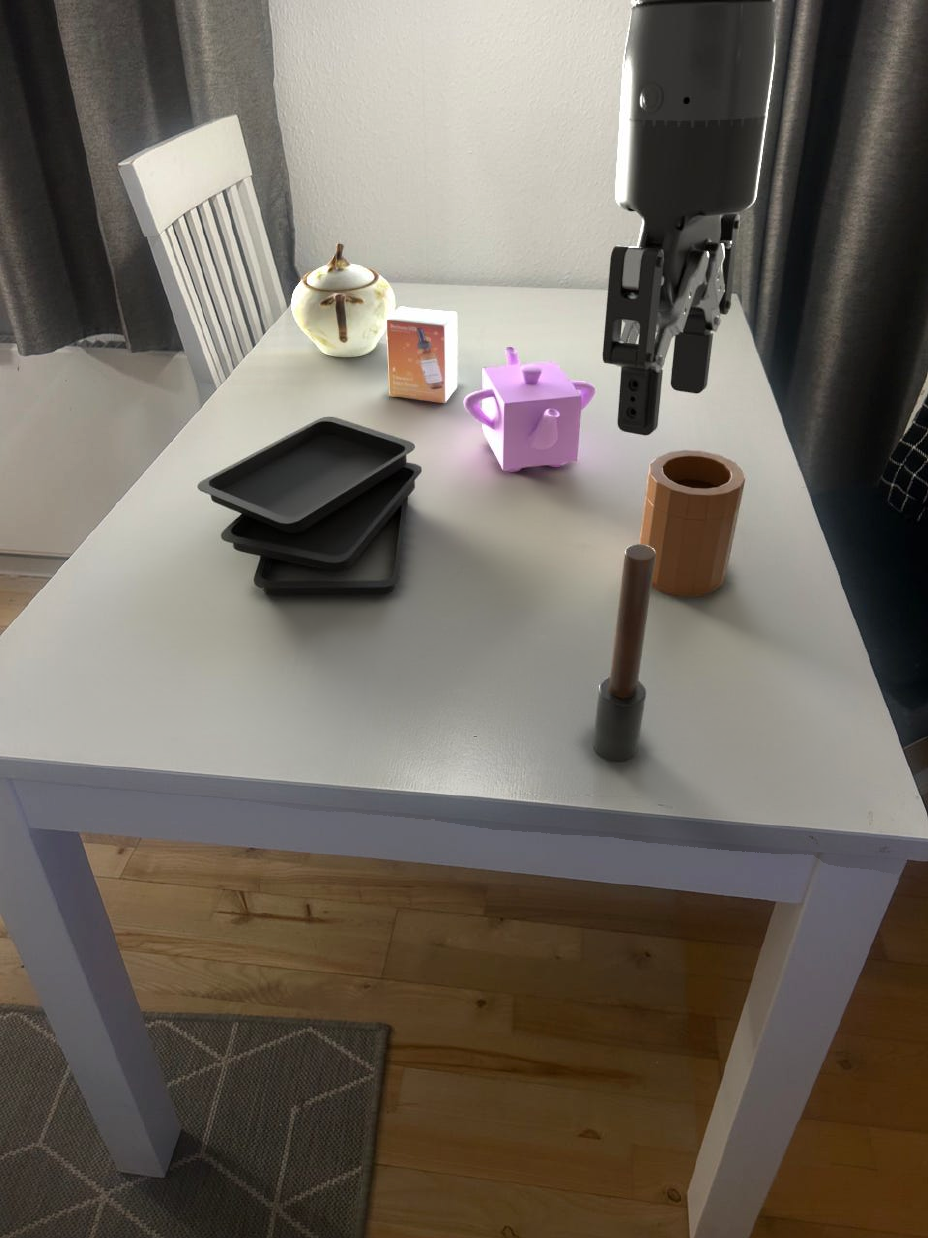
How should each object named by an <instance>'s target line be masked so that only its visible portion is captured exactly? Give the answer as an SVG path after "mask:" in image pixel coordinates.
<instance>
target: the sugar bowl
mask: <svg viewBox="0 0 928 1238" xmlns="http://www.w3.org/2000/svg"><path fill="white" fill-rule="evenodd" d="M344 248H345V245H344V243H342V242H337V243H336V245H335V252H334V254H333V256H332V258H331V260H330V261H329V262H328V263H327V264H325V265H323V266H320V267H319V268H315V269H313V270H311V271H308V272H307V273H305V274H304V275H303V276H302V278H301V279H300V282H299V283H298V284H297V286H296V287H295V289H294V290H293V293H292V296H291V301H290V302H291V303H290V304H291V305H290V306H291V312H292V316H293V318H294V321H295V322H296V324H297V325H298V326H299V328H300V329H301V331H303V333H304V334H305V335H306V336H307V337H308V338H309V339H310V340H311V341H312V342H313V343H314V344H315V345H316V347H318V349H319V350H320V352H322V353H323V354H325V355H327V356H331V357H335V358H355V357H360V356H364V355H368V354H369V353H371V352H372V351H374V350H375V349H376V347H377V345H378V343H379V341H380V340H381V338H382V337H383V335H384V334H385V332H386V331H387V326H386V320H387V319H388V318H389V317H390V316H391V315H392V314H393V313H394V312H395V311H396V310H395V309H396V297H395V293H394V291H393V288H392V287H391V285H390V283H389V282H388V280H386V279H385V278H384V277H383V276H381V275H380V274H379V272H378V271H377V270H375V269H374V268H371V267H369V266H364V265H359V264H354V263H350V262H349V261H348V260H347V258H346V256H345V255H343V251H344Z"/></svg>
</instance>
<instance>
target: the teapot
mask: <svg viewBox="0 0 928 1238" xmlns="http://www.w3.org/2000/svg"><path fill="white" fill-rule="evenodd" d="M505 355H506V361H507V364H506V365H498V366H487V367H483V368H482V372H481V373H482V377H481V378H482V389H480V390H476V391H473V392H471V393H469V394H467V395H466V396H465V397H464V399H463V406H464V409H465V410H466V411H467V412H468V413H469V415H470V416H471V417H472V418H474V419H475V420H477V421H478V422H479V423H481V425H482V426H481V430H482V432H483V434H484V436H485V439H486V440H487V442H488V444H489V446H490V448H491V451H492V452H493V454H494V457H495V458H496V459H497V461H498V464H499V466H500V467H501V469H502V471H506V472H509V473H516V472H519V471H520V470H522V468H531V467H541V466H549V467H552V468H560V467H563V466H564V465H565V464H569V463H576V462H577V463H578V458H579V445H580V444H579V443H580V428H581V415H582V411H583V410H584V409H585V408H586V407H587V406H588V405H589V404H590V403H591V401H592V399H593V398H594V397H595V394H596V388H595V386H594V384H593V383H590V382H588V381H583V380H570V379H569V377H568V376H567V375H566V373H565V372H564V371H563V370H562V368H561V367H560V365H559V364H558V363H557V362H556V361H555V360H551V361H541V362H540V361H539V362H529V363H520V359H519V355H518V352H517V350H516V349H515V348H514V347H512V346H508V347H506V348H505ZM579 391H580V392H579ZM481 401H482V402H481ZM480 402H481V403H482V404H481V407H480V405H479V403H480Z"/></svg>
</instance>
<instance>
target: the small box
mask: <svg viewBox="0 0 928 1238" xmlns="http://www.w3.org/2000/svg"><path fill="white" fill-rule="evenodd" d="M386 326H387V329H386V342H387V346H386V347H387V366H388V368H387V369H388V371H387V372H388V389H389V392H388V393H389V394H388V395H389V397H393V398H404V399H411V400H417V401H418V400H419V401H424V402H431V403H432V402H434V403H442V404H446V403H447V401H448V400H449V399H450V398H451V396H452V395H453V394H454V392H455V391H456V390H457V388H458V312H457V311H446V310H445V311H444V310H434V309H426V308H425V309H423V308H416V307H415V308H414V307H408V306H402V305H401V306H399V307H398V308H396V310H395V311H394V313H393V314H392V315H391V316H390V317H389V318H388V319H387V320H386Z"/></svg>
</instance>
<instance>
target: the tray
mask: <svg viewBox="0 0 928 1238" xmlns="http://www.w3.org/2000/svg"><path fill="white" fill-rule="evenodd" d="M415 449H416V445H415V444H414V443H413V442H412V441H409V440H407V439H404V438H401V437H397V436H394V435H391V434H388V433H385V432H381V431H379V430H376V429H373V428H370V427H366V426H363V425H361V424H357V423H355V422H351V421H348V420H345V419H342V418H338V417H336V416H335V417H334V416H324V417H320V418H318V419H316V420H314V421H312V422H310V423H308V424H306V425H305V426H302V427H301V428H298V429H297V430H295V431H293V432H291V433H290V434H287V435H286V436H284V437H282V438H279V439H277V440H276V441H274V442H273V443H270V444H269V445H266V446H265V447H263V448H261V449H259V450H257V451H256V452H253V453H252V454H250V455H248V456H245V457H244V458H242V459H240V460H238V461H236V462H235V463H233V464H231V465H229V466H227V467H225V468H223V469H222V470H220V471H218V472H215V473H214V474H212V475H210V476H208V477H206V478H204V479H202V480H201V481H199V482H198V484H197V486H196V487H197V489H198V490H199V491H200V492H202V493H204V494H207V495H209V496H210V499H211V501H212V502H213V503H216V504H218V505H220V506H222V507H224V508H227V509H229V510H232V511H235V512H236V513H239V514H240V515H238V517H236V518H235V519H234V520H233V521H232V522H231V523H230V524H228V526H226V527H225V528H224V529H223V530H222V532H221V533H220V538H221V540H223V541H224V542H227V543H230V544H232V546H233V549H234V550H235V551H238V552H241V553H244V554H249V555H253V556H259V557H260V558H259V561H258V564H257V567H256V571H255V574H254V577H253V584H254V585H255V586H256V587H258V588H261V589H262V590H263V592H264V593H265V594H267V595H272V596H375V595H376V596H381V595H382V596H383V595H387V594H390V593H392V592H393V591H394V590H395V589H396V585H397V584H398V583H399V581H400V578H401V577H400V576H401V568H402V560H403V559H402V558H403V548H404V539H405V531H406V530H405V529H406V521H407V510H408V503H409V496H411V494H412V493H413V492H414V490H415V488H416V479H417V478H418V477H419V476H420V475H421V473H422V471H423V468H422V466H421V465H419V464H416V463H414V462H413V463H412V462H407V461H408V460H407V455H409V454H410V453H412V452H413V451H414V450H415ZM400 507H401V512H400V518H399V528H398V535H397V536H398V537H397V543H396V544H397V545H396V553H395V563H394V571H393V574H392V576H391V577H389V578H386V579H380V580H379V579H377V580H269V579H267V578H268V574H269V571H270V568H271V564H272V561H273V560H278V561H282V562H287V563H293V564H295V565H296V564H297V565H302V566H307V567H311V568H316V569H320V570H325V571H330V572H342V571H345V570H348V569H349V568H350V567H351V566H352V565H353V564H354V563H355V561H356V560H357V559H358V558H359V557H360V556H361V554H362V553H363V552H364V551H365V550H366V548H367V547H368V546H369V544H370V543H372V541H373V540H374V538H375V537H377V535H378V534H379V532H380V531H381V530H382V529H383V528H384V526H386V524H387V523H388V522H389V520H390V519H392V517H393V515H394V514H396V512H397V511H398V510H399V508H400Z"/></svg>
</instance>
